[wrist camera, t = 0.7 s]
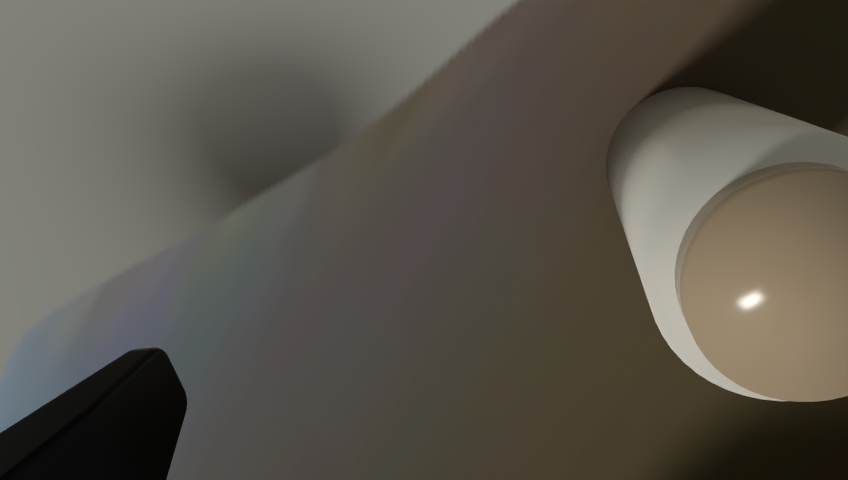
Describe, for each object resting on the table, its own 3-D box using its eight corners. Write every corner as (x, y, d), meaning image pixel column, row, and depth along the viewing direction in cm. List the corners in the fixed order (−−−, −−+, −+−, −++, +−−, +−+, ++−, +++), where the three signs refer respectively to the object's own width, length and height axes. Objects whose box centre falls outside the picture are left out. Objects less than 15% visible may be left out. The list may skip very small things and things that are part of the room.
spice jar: (777, 215, 25) (1000, 397, 12) (625, 251, 26) (688, 451, 13) (746, 66, 24) (956, 100, 11) (590, 111, 25) (621, 187, 12)
